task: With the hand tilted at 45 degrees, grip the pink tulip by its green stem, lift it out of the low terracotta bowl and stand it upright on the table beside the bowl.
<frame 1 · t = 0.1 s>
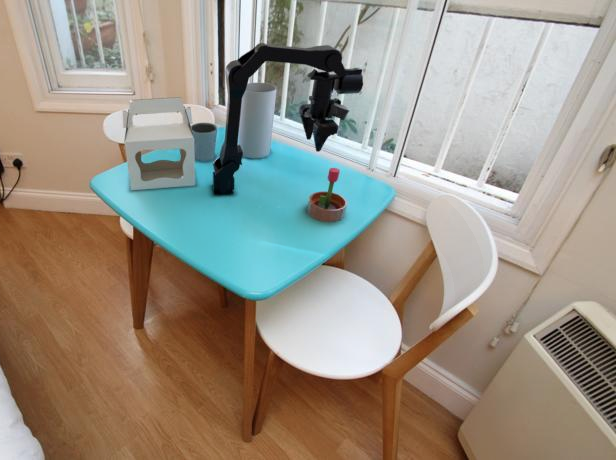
hand: (313, 145, 118), 15 cm above the table, tool pointing down, fingers open, 9 cm apart
gable box: (162, 179, 133), on the table
cylinder vase: (253, 153, 149), on the table
grey cup: (204, 157, 146), on the table
bowl: (325, 213, 113), on the table
tulip: (325, 211, 113), resting on bowl
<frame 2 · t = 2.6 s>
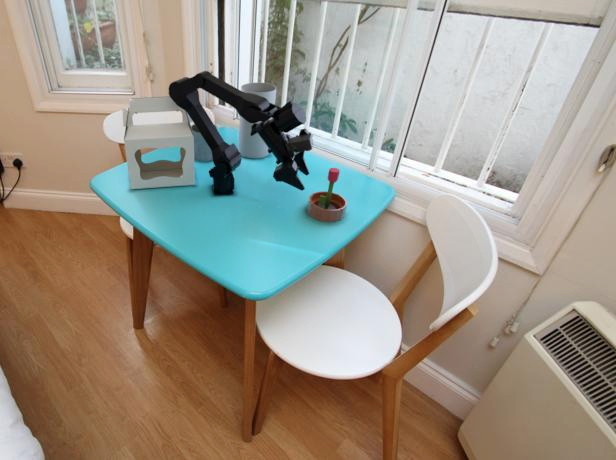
hand: (305, 181, 110), 9 cm above the table, tool tilted 40°, fingers open, 9 cm apart
gable box: (162, 179, 133), on the table, touching arm
everything else where it was.
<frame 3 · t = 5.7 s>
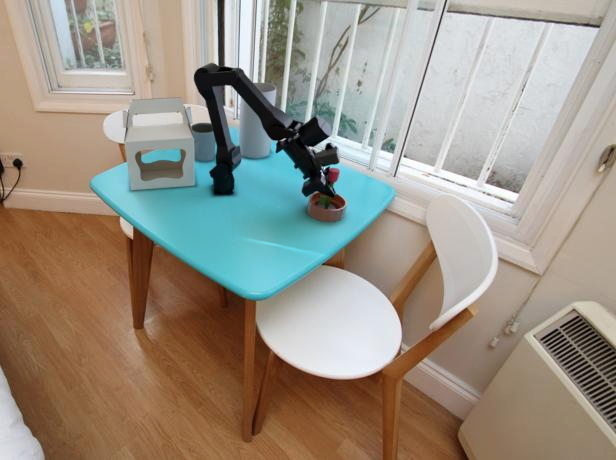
hand: (334, 195, 109), 7 cm above the table, tool tilted 45°, fingers closed on tulip
gable box: (162, 179, 133), on the table
tulip: (325, 211, 113), point 1 cm above the table, touching bowl, gripper
everything else where it was.
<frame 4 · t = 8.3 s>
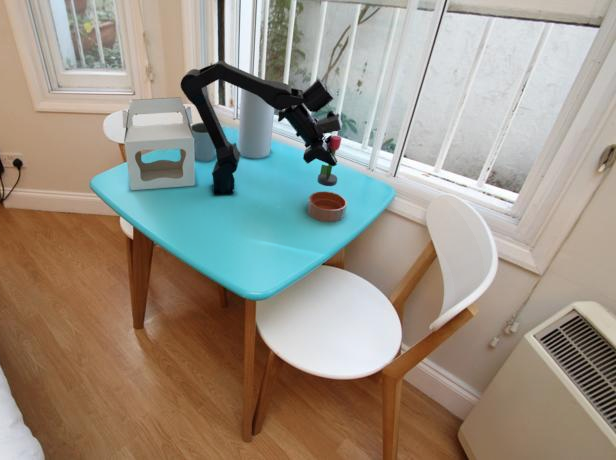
hand: (335, 164, 110), 13 cm above the table, tool tilted 45°, fingers closed on tulip
tulip: (326, 181, 114), point 7 cm above the table, touching gripper
everything else where it was.
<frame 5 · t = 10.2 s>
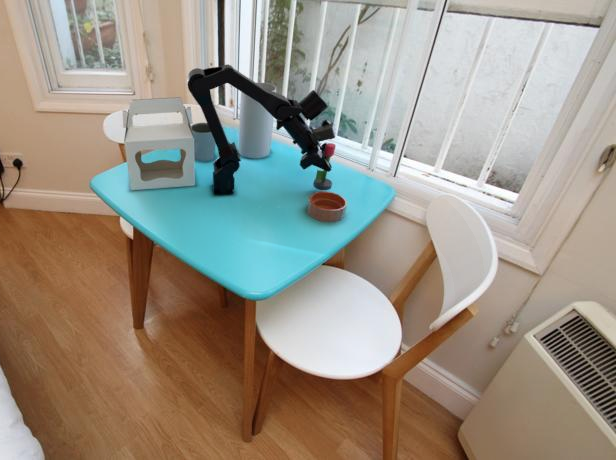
hand: (330, 169, 116), 9 cm above the table, tool tilted 45°, fingers closed on tulip
tulip: (322, 186, 120), point 3 cm above the table, touching gripper
everything else where it was.
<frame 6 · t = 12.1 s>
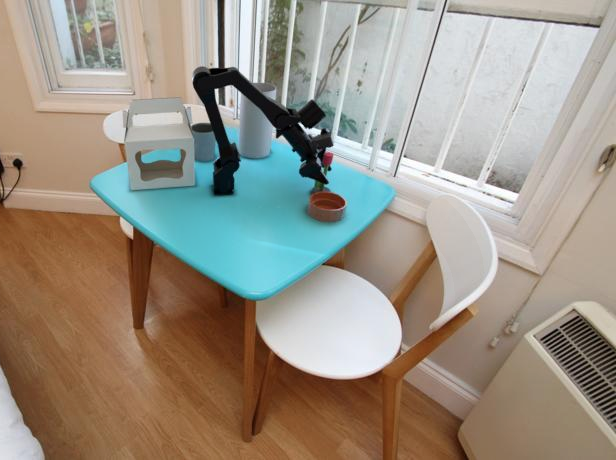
hand: (329, 177, 118), 6 cm above the table, tool tilted 45°, fingers open, 9 cm apart
tulip: (320, 193, 122), on the table
everything else where it was.
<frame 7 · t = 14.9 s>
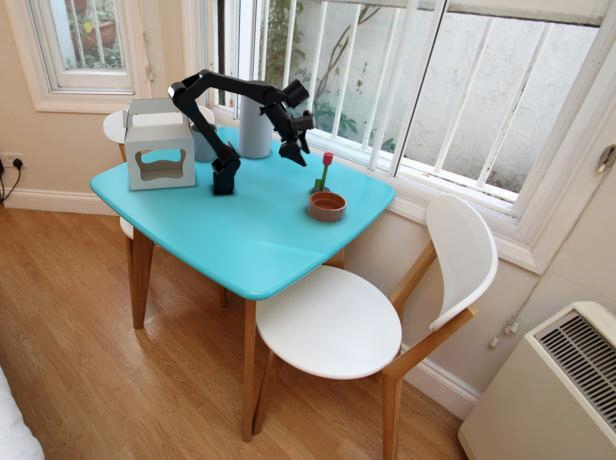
hand: (307, 159, 119), 11 cm above the table, tool tilted 40°, fingers open, 9 cm apart
nothing on the table moved.
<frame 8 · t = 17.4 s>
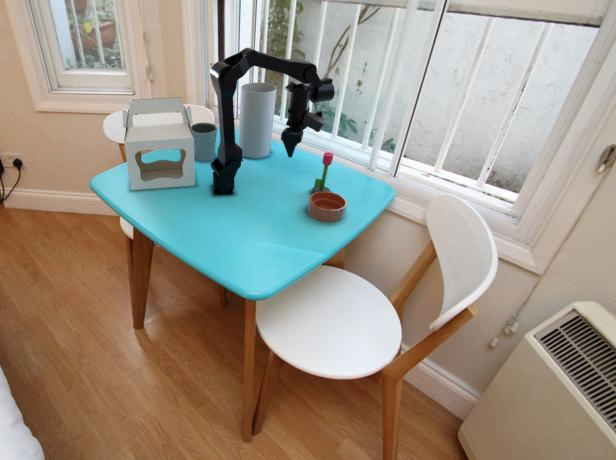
hand: (292, 151, 125), 10 cm above the table, tool pointing down, fingers open, 9 cm apart
nothing on the table moved.
at the end: tulip inside the target area (0.1 cm from its centre), on the table; tulip tilted 0°; the gripper is holding nothing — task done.
